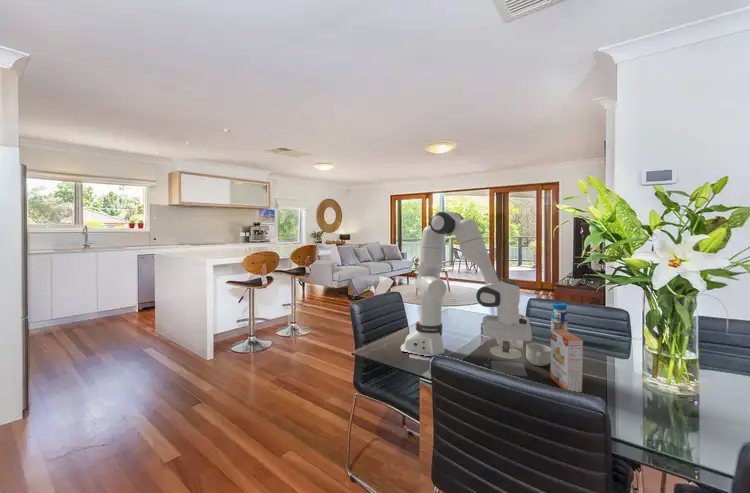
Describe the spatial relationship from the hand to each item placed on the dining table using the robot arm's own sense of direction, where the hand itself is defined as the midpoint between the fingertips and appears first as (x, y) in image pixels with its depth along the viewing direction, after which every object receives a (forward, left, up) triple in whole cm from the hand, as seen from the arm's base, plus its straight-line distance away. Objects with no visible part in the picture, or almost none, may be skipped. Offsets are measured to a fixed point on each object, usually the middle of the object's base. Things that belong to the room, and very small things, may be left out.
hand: (506, 348), depth 155 cm
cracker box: (+21, -11, -10) cm, 26 cm away
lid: (0, 0, -2) cm, 2 cm away
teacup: (+15, +9, -10) cm, 20 cm away
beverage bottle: (+32, +50, -10) cm, 60 cm away
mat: (+1, +1, -10) cm, 10 cm away
